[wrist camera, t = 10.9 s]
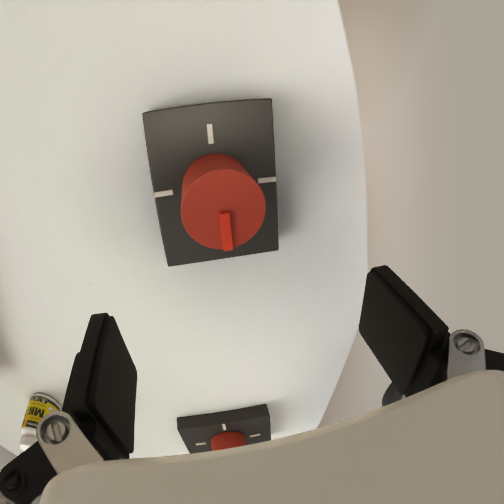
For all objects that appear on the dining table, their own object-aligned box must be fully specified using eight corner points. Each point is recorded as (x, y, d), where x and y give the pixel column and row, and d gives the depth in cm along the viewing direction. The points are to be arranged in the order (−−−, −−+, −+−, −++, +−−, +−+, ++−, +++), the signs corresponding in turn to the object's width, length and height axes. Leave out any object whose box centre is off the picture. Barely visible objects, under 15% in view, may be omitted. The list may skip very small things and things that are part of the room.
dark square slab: (145, 112, 21) (141, 113, 19) (265, 98, 22) (272, 98, 20) (169, 255, 26) (168, 268, 24) (272, 240, 28) (279, 251, 26)
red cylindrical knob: (178, 158, 21) (174, 176, 16) (246, 149, 22) (265, 165, 17) (187, 221, 23) (187, 257, 18) (250, 212, 24) (269, 245, 19)
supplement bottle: (48, 390, 31) (34, 443, 24) (68, 411, 33) (58, 462, 26) (24, 393, 31) (9, 442, 23) (43, 413, 33) (33, 461, 26)
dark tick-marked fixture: (266, 403, 38) (270, 416, 36) (268, 434, 43) (271, 446, 41) (176, 417, 37) (177, 430, 35) (190, 446, 41) (192, 458, 39)
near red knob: (208, 434, 36) (213, 471, 31) (243, 429, 37) (252, 465, 32) (213, 449, 39) (218, 483, 33) (246, 444, 39) (254, 477, 34)
